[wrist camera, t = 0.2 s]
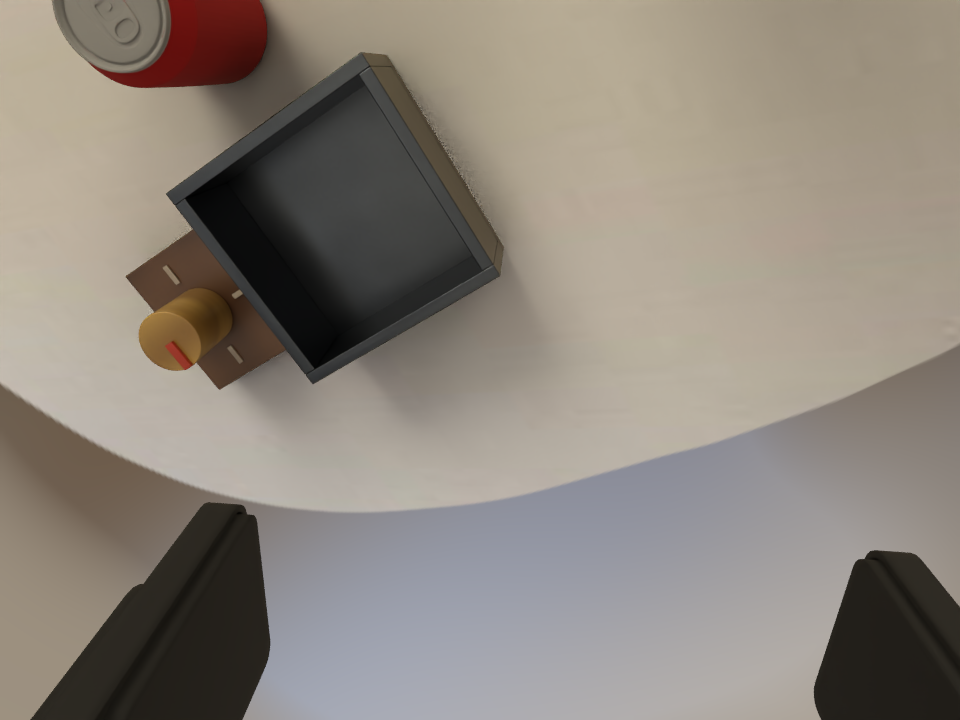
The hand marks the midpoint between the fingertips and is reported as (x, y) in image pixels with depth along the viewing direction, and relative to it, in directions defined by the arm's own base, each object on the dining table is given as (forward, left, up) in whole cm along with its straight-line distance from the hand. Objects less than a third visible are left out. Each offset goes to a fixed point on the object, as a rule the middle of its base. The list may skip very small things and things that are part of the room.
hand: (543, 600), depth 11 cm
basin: (-5, -10, -37) cm, 39 cm away
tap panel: (-5, -22, -37) cm, 44 cm away
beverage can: (-19, -11, -37) cm, 43 cm away
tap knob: (-5, -23, -35) cm, 42 cm away
